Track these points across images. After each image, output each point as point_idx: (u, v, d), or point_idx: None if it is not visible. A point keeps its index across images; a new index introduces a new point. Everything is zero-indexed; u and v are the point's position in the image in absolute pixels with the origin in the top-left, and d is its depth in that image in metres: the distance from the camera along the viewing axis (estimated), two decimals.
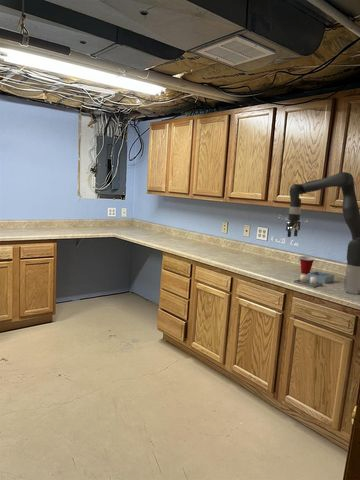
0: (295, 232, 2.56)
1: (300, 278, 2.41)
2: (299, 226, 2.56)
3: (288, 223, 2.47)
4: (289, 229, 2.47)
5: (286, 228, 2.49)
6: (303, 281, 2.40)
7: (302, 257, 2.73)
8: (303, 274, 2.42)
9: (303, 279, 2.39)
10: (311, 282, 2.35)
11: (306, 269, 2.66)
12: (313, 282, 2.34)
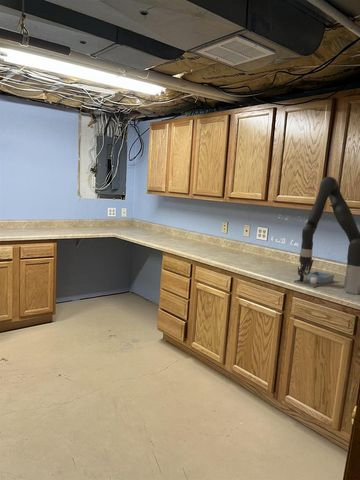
0: None
1: None
2: (309, 270, 2.43)
3: (299, 268, 2.36)
4: (302, 274, 2.37)
5: (298, 273, 2.38)
6: (303, 281, 2.40)
7: None
8: None
9: (303, 279, 2.39)
10: (311, 282, 2.35)
11: None
12: (313, 282, 2.34)
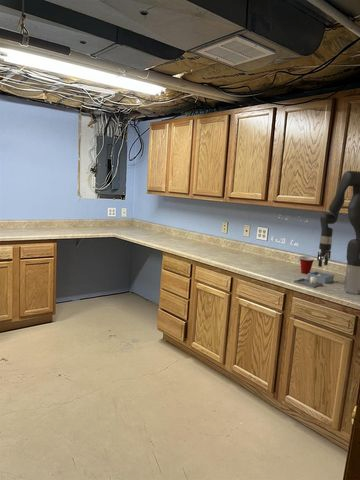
0: (325, 261, 2.52)
1: None
2: (329, 255, 2.52)
3: (319, 253, 2.44)
4: (320, 259, 2.44)
5: (317, 258, 2.45)
6: None
7: (302, 257, 2.73)
8: None
9: None
10: (311, 282, 2.35)
11: (306, 269, 2.66)
12: (313, 282, 2.34)
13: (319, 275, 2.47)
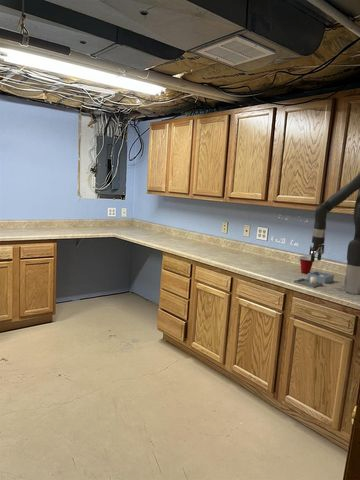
0: (319, 256, 2.37)
1: None
2: (323, 249, 2.37)
3: (312, 247, 2.28)
4: (313, 253, 2.28)
5: (309, 252, 2.29)
6: None
7: (302, 257, 2.73)
8: None
9: None
10: (311, 282, 2.35)
11: (306, 269, 2.66)
12: (313, 282, 2.34)
13: None
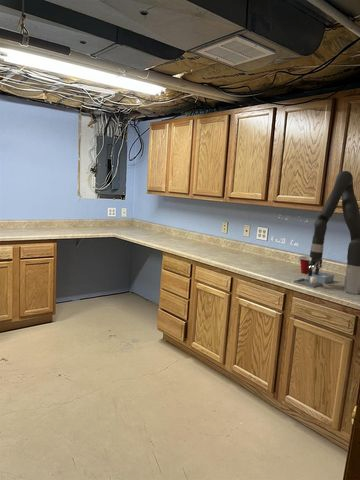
0: (316, 270, 2.38)
1: None
2: (321, 264, 2.38)
3: (309, 262, 2.30)
4: (310, 268, 2.30)
5: (307, 267, 2.31)
6: None
7: (302, 257, 2.73)
8: None
9: None
10: (311, 282, 2.35)
11: (306, 269, 2.66)
12: (313, 282, 2.34)
13: None
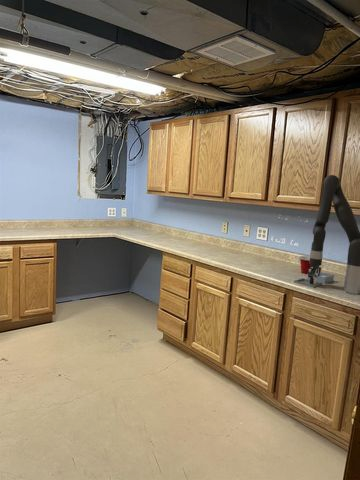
0: None
1: None
2: (319, 272, 2.38)
3: (309, 271, 2.31)
4: (312, 276, 2.32)
5: (308, 275, 2.33)
6: None
7: (302, 257, 2.73)
8: None
9: None
10: None
11: (306, 269, 2.66)
12: (313, 282, 2.34)
13: None
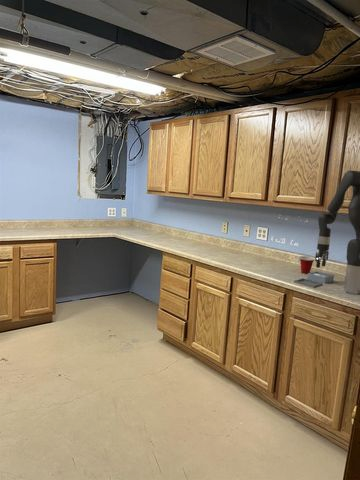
0: (323, 262, 2.50)
1: None
2: (327, 256, 2.50)
3: (317, 254, 2.42)
4: (318, 260, 2.42)
5: (315, 259, 2.43)
6: None
7: (302, 257, 2.73)
8: None
9: None
10: None
11: (306, 269, 2.66)
12: None
13: None
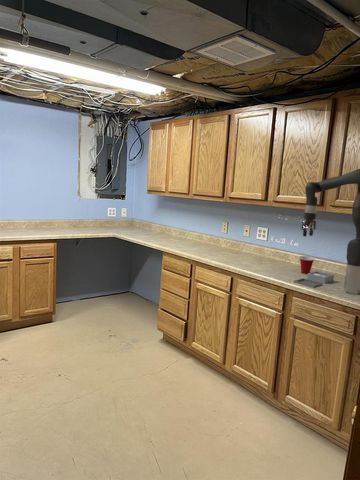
0: (310, 231, 2.50)
1: None
2: (315, 225, 2.50)
3: (304, 222, 2.42)
4: (305, 228, 2.42)
5: (302, 227, 2.43)
6: None
7: (302, 257, 2.73)
8: None
9: None
10: None
11: (306, 269, 2.66)
12: None
13: None
